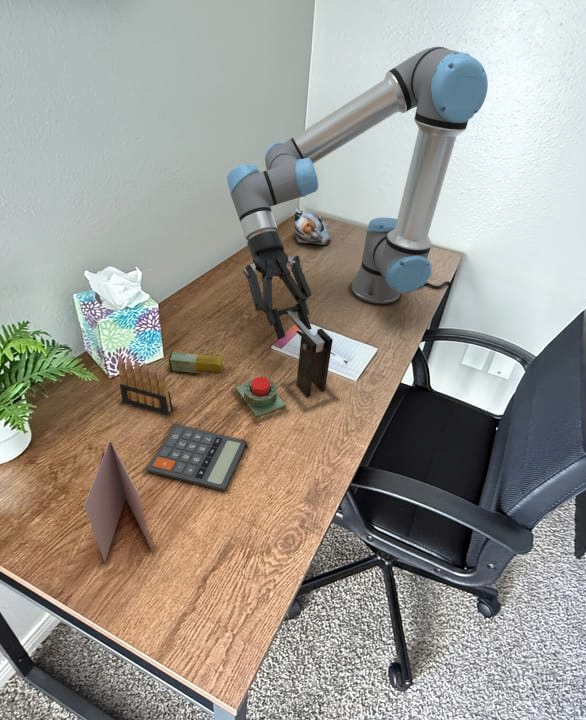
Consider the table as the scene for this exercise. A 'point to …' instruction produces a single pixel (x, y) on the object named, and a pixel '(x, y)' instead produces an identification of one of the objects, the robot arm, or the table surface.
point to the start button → (260, 386)
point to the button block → (261, 399)
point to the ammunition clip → (144, 387)
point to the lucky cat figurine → (310, 228)
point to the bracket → (313, 363)
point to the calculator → (198, 457)
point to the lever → (302, 326)
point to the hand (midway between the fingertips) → (294, 334)
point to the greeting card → (112, 499)
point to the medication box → (195, 363)
